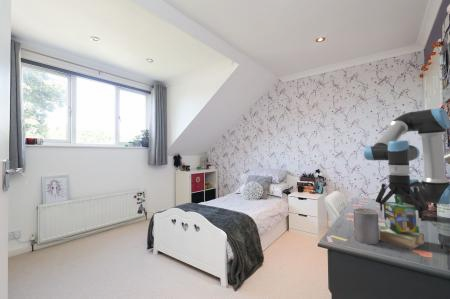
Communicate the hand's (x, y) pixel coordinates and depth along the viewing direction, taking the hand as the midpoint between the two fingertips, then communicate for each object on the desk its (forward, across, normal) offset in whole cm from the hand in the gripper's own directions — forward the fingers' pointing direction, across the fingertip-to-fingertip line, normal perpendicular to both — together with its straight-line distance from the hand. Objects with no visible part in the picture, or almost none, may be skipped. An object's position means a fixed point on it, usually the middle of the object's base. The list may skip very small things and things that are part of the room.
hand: (400, 221), depth 100 cm
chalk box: (+4, 0, 0) cm, 4 cm away
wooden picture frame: (+9, 0, 0) cm, 9 cm away
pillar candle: (+9, -8, -12) cm, 18 cm away
